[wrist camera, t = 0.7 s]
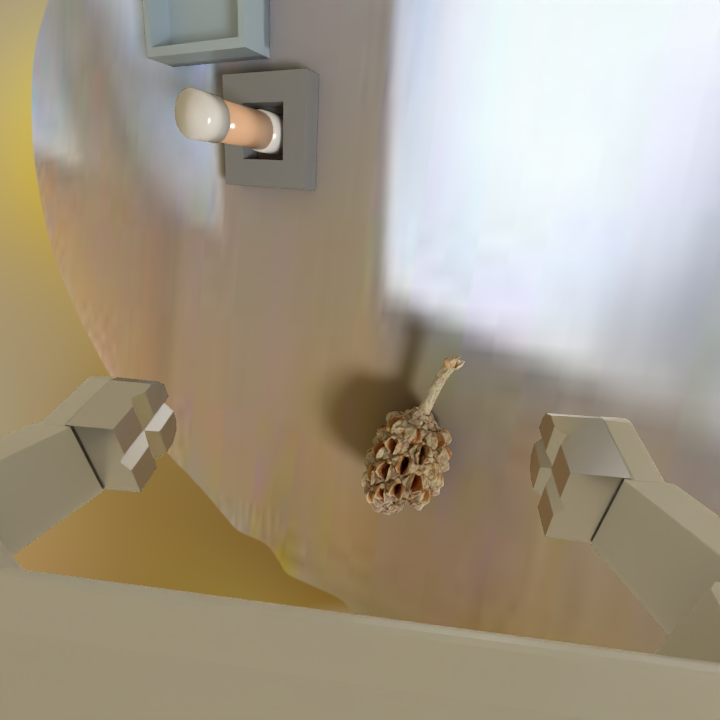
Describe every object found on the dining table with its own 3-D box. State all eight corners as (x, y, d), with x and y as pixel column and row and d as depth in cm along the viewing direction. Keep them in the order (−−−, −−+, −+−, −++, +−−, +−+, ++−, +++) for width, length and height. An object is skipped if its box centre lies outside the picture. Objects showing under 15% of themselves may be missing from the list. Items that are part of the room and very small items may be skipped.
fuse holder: (237, 80, 54) (222, 74, 52) (319, 74, 49) (306, 68, 47) (239, 185, 58) (225, 184, 56) (315, 190, 53) (303, 189, 51)
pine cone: (440, 504, 57) (411, 553, 48) (376, 469, 60) (338, 509, 52) (500, 351, 48) (477, 380, 39) (420, 320, 51) (383, 341, 43)
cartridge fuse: (261, 114, 54) (173, 88, 43) (291, 114, 52) (206, 86, 41) (262, 154, 55) (176, 138, 44) (290, 155, 53) (208, 139, 42)
